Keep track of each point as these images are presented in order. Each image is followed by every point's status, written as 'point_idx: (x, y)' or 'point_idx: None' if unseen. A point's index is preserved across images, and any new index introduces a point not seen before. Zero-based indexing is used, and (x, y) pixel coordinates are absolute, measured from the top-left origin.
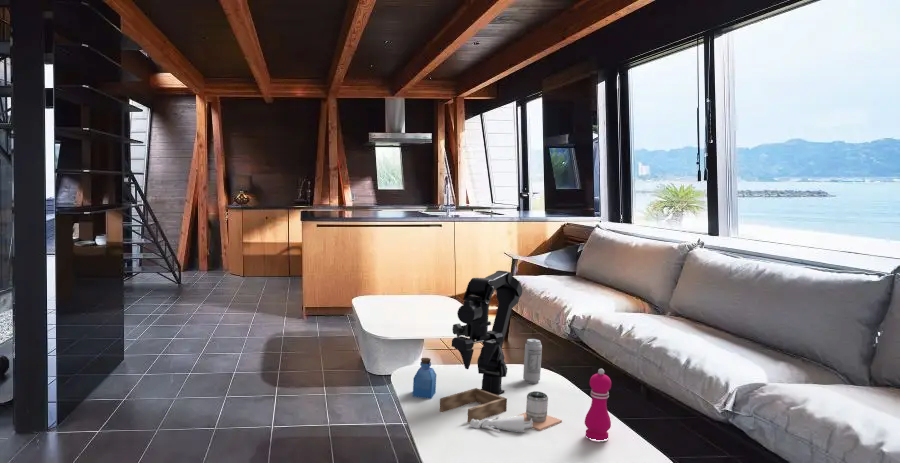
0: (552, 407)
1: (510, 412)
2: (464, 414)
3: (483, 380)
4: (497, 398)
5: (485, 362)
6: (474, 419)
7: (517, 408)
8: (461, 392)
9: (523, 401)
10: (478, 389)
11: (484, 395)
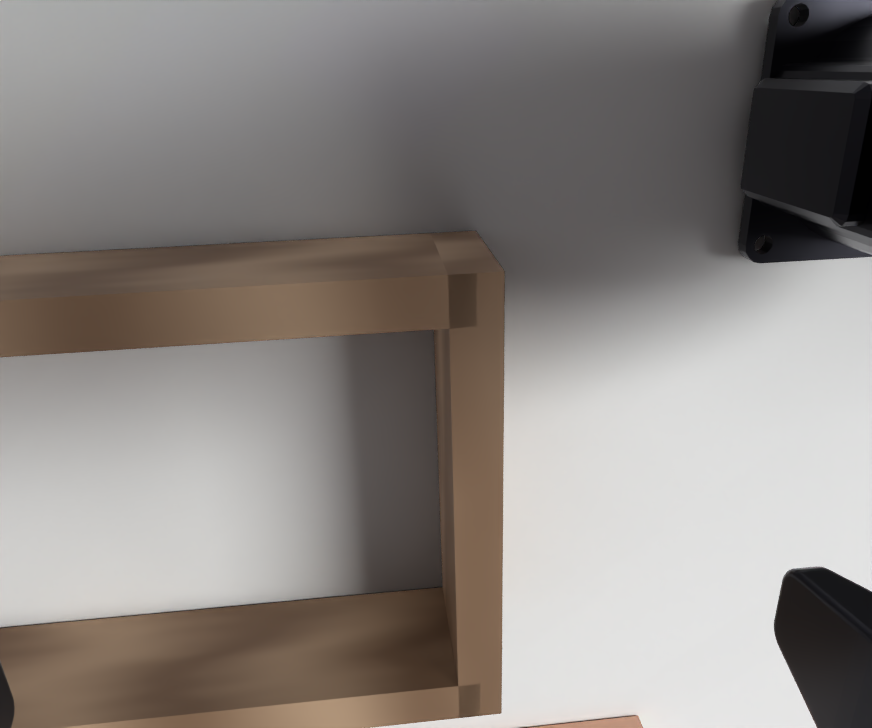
0: None
1: None
2: (44, 483)
3: (848, 121)
4: (455, 625)
5: (804, 623)
6: None
7: (616, 613)
8: (154, 300)
9: (823, 525)
10: (479, 337)
11: (447, 445)
